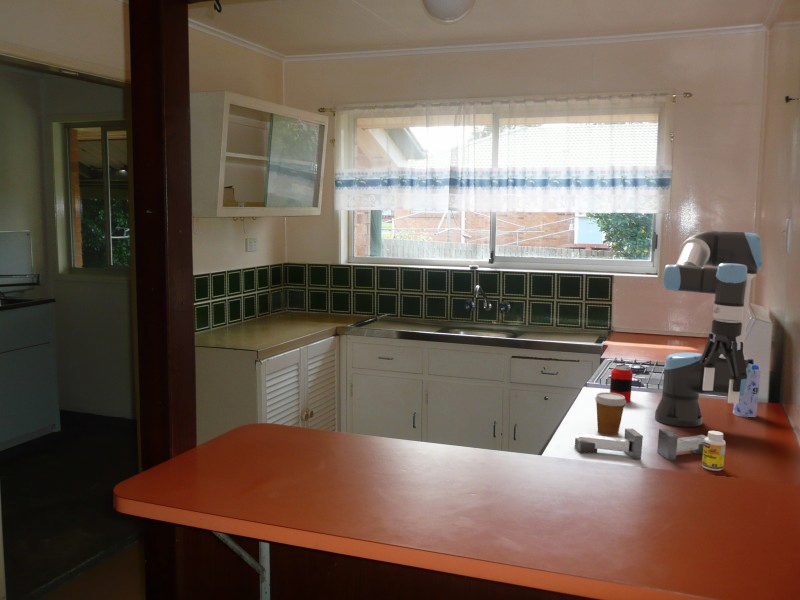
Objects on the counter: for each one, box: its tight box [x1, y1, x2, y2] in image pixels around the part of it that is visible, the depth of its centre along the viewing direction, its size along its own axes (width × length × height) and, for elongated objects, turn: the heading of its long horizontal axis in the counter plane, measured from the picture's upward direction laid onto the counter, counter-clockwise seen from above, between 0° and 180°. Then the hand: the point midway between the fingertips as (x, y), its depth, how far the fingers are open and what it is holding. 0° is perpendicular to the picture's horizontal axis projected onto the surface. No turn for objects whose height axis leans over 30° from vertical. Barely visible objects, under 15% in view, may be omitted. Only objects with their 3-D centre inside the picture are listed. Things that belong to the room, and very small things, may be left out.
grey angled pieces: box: [574, 428, 708, 461], centre depth 225 cm, size 10×40×7 cm, turn 96°
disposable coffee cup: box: [594, 391, 627, 437], centre depth 244 cm, size 10×10×12 cm
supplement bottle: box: [701, 430, 727, 472], centre depth 214 cm, size 6×6×10 cm
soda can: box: [609, 366, 633, 403], centre depth 286 cm, size 8×8×12 cm
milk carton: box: [732, 358, 762, 418], centre depth 272 cm, size 8×8×20 cm
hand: (719, 396), depth 212 cm, fingers open, 13 cm apart
